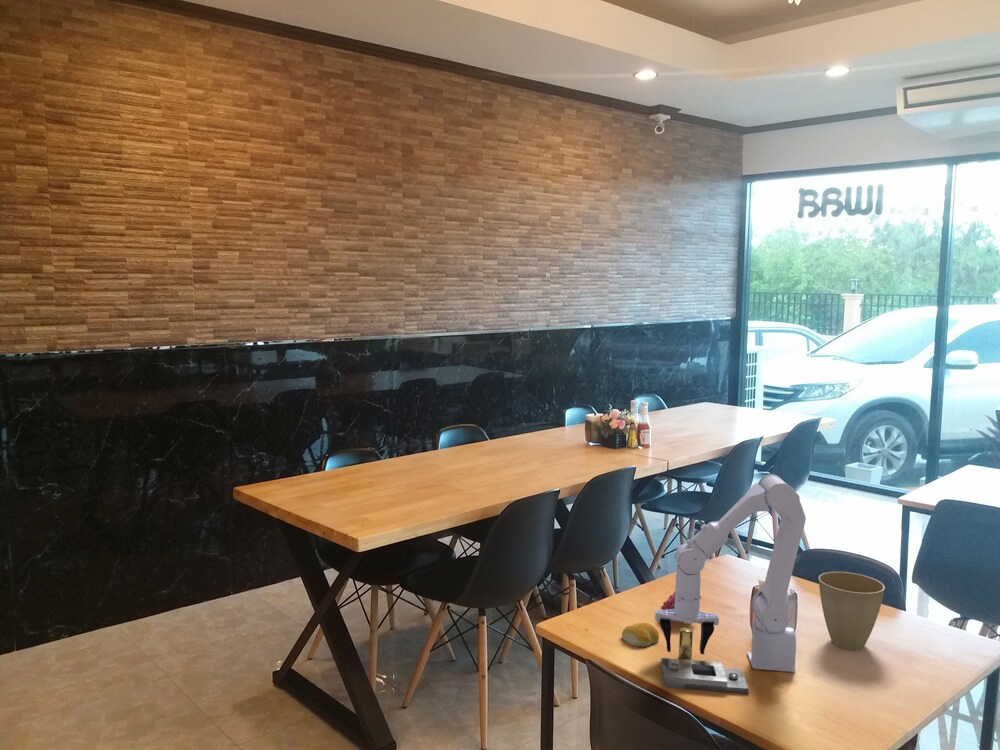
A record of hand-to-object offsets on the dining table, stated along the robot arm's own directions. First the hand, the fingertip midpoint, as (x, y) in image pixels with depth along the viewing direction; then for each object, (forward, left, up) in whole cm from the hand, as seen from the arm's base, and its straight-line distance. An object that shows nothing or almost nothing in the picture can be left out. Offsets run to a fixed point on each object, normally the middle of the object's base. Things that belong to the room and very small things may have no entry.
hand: (685, 651), depth 181 cm
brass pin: (0, 0, -2) cm, 2 cm away
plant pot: (-41, -15, -2) cm, 44 cm away
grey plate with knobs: (-3, +10, -2) cm, 11 cm away
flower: (-1, -24, -2) cm, 24 cm away
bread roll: (+10, -9, -2) cm, 14 cm away
